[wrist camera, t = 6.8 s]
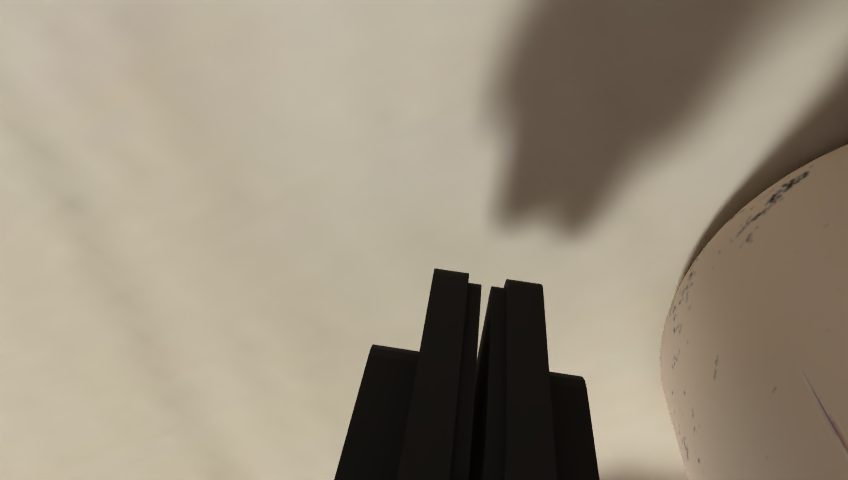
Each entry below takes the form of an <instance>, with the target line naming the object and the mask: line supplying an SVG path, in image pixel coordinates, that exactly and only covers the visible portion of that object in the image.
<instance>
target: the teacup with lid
mask: <svg viewBox="0 0 848 480" xmlns="http://www.w3.org/2000/svg"><path fill="white" fill-rule="evenodd" d="M660 365H661V380H662V385H663V390H664V395H665V399H666V403H667V406H668V410H669V413H670V417H671V420H672V424H673V428H674V431H675V435H676V438H677V442H678V445H679V449H680V452H681V456H682V459H683V463H684V467H685V470H686V474H687V477H688V480H848V144H847V145H844V146H842V147H840V148H838V149H836V150H834V151H831V152H829V153H827V154H825V155H823V156H821V157H819V158H817V159H815V160H813V161H811V162H809V163H808V164H806V165H804V166H802V167H801V168H799V169H797V170H795V171H794V172H792V173H790V174H788V175H787V176H785V177H784V178H782V179H781V180H779V181H778V182H776V183H775V184H773V185H772V186H770V187H769V188H767V189H766V190H765V191H763V192H762V193H761V194H759V195H758V196H757V197H756V198H754V199H753V200H752V201H751V202H749V203H748V204H747V205H746V206H744V207H743V208H742V209H741V210H740V211H739V212H738V213H737V214H736V215H734V216H733V217H732V218H731V219H730V220H729V221H728V222H727V223H726V224H725V225H724V226H723V227H722V228H721V229H720V230H719V231H718V232H717V234H716V235H715V236H714V237H713V238H712V239H711V240H710V241H709V242H708V243H707V245H706V246H705V247H704V249H703V250H702V251H701V253H700V254H699V255H698V257H697V258H696V259H695V261H694V262H693V264H692V265H691V267H690V269H689V270H688V272H687V274H686V275H685V277H684V278H683V280H682V282H681V284H680V286H679V288H678V290H677V293H676V295H675V297H674V299H673V301H672V304H671V307H670V310H669V313H668V316H667V319H666V322H665V326H664V331H663V335H662V340H661V353H660Z"/></svg>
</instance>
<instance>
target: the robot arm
mask: <svg viewBox="0 0 848 480" xmlns="http://www.w3.org/2000/svg"><path fill="white" fill-rule="evenodd" d="M468 280H469V273H462V272H455V271H449V270H442V269H434V274H433V279H432V285H431V291H430V296H429V302H428V307H427V313H426V319H425V324H424V330H423V336H422V341H421V347H420V352H418V351H412V350H405V349H399V348H392V347H386V346H379V345H372V347H371V349H370V353H369V356H368V359H367V363H366V367H365V370H364V374H363V378H362V381H361V385H360V388H359V392H358V396H357V399H356V403H355V407H354V410H353V414H352V417H351V421H350V425H349V428H348V432H347V436H346V439H345V443H344V446H343V450H342V454H341V457H340V461H339V465H338V468H337V472H336V475H335V479H334V480H599V473H598V466H597V459H596V452H595V445H594V437H593V430H592V423H591V416H590V409H589V402H588V395H587V388H586V384H585V380H584V379H583V377H581V376H574V375H568V374H561V373H555V372H549V364H548V350H547V337H546V323H545V310H544V296H543V286H542V285H541V284H536V283H529V282H523V281H516V280H509V279H507V280H506V282H505V285H504V288H499V287H493V286H492V287H491V290H490V295H489V300H488V305H487V310H486V316H485V321H484V326H483V331H482V337H481V342H480V347H479V352H478V358H477V347H478V332H479V316H480V301H481V285H479V284H473V283H468ZM476 362H477V363H476Z"/></svg>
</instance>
